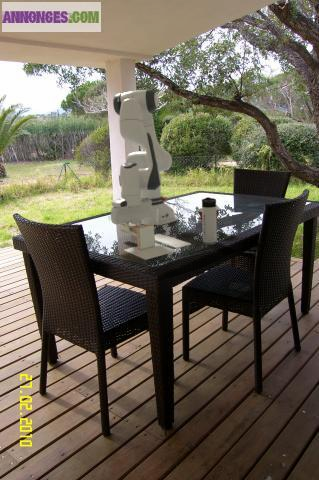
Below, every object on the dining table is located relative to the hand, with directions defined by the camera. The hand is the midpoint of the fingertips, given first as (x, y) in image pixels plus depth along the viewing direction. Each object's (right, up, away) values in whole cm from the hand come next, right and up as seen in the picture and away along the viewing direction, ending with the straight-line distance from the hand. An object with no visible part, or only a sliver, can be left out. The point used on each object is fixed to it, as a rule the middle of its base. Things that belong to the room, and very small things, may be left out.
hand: (133, 230), depth 179 cm
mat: (+8, -9, -9) cm, 15 cm away
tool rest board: (+16, -5, +3) cm, 17 cm away
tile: (+6, -8, -6) cm, 11 cm away
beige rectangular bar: (0, -2, 0) cm, 2 cm away
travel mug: (+34, -6, -1) cm, 35 cm away
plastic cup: (+36, -1, +16) cm, 40 cm away
